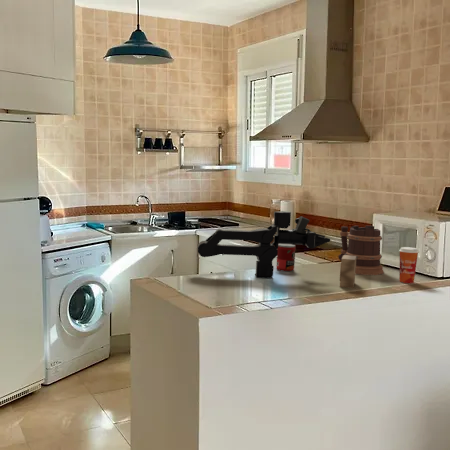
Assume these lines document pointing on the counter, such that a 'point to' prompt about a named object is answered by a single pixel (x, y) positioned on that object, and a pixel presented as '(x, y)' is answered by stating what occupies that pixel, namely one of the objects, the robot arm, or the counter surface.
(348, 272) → the wooden box
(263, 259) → the robot arm
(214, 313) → the counter surface
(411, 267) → the paper cup
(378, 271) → the mug
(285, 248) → the canned food
